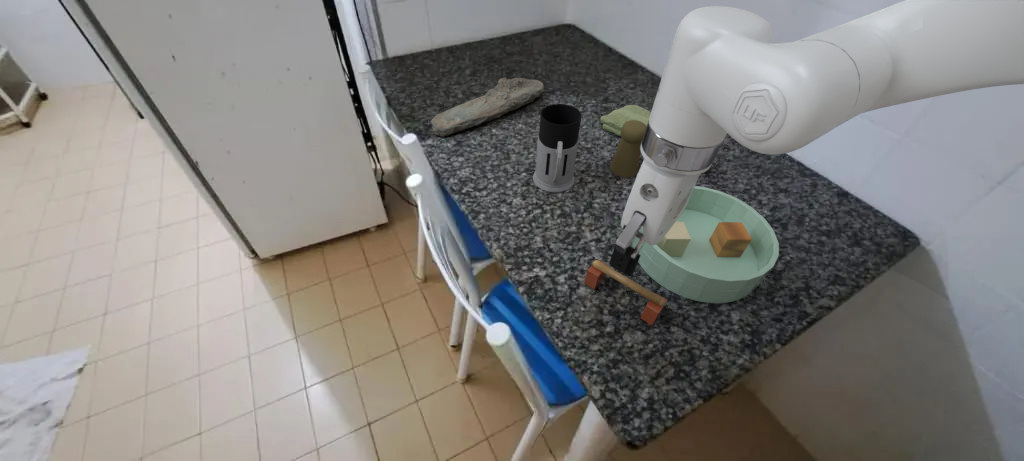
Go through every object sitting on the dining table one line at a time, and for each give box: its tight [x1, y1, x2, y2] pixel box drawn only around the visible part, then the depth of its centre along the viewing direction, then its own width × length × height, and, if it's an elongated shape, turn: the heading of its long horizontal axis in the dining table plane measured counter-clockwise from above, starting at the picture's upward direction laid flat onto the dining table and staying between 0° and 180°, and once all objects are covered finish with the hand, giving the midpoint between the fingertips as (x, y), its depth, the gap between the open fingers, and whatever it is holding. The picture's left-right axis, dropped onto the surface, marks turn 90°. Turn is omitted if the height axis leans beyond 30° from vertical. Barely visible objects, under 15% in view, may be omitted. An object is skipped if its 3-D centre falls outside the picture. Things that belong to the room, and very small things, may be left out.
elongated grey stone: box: [430, 77, 545, 138], centre depth 99 cm, size 35×5×10 cm
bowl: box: [631, 185, 780, 304], centre depth 66 cm, size 22×22×6 cm
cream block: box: [657, 222, 691, 257], centre depth 66 cm, size 4×4×4 cm
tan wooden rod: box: [591, 259, 666, 306], centre depth 59 cm, size 12×1×1 cm, turn 50°
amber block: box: [709, 222, 752, 257], centre depth 66 cm, size 4×4×4 cm
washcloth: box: [599, 104, 651, 137], centre depth 94 cm, size 13×18×3 cm
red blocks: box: [584, 258, 668, 326], centre depth 60 cm, size 12×3×4 cm, turn 50°
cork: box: [609, 120, 647, 179], centre depth 81 cm, size 6×6×11 cm
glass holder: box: [532, 103, 583, 193], centre depth 75 cm, size 9×14×15 cm, turn 175°
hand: (638, 248), depth 53 cm, fingers open, 9 cm apart
